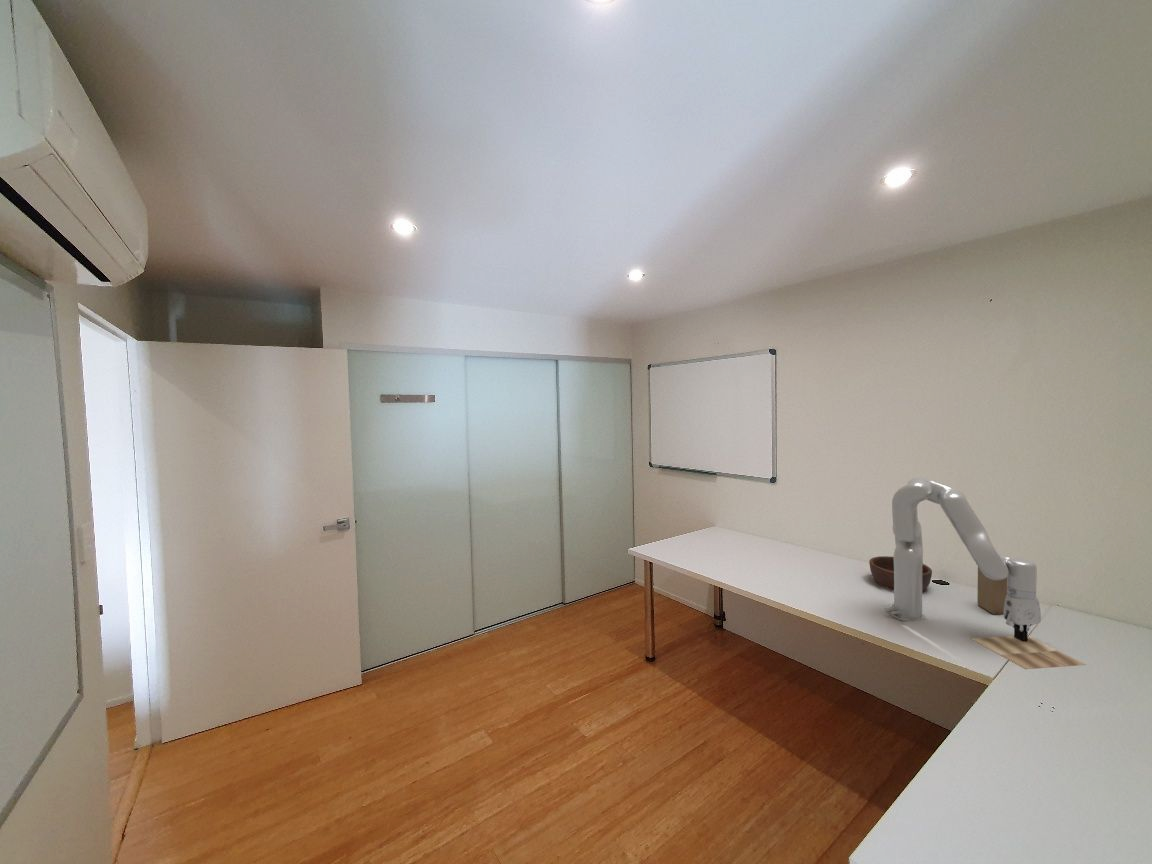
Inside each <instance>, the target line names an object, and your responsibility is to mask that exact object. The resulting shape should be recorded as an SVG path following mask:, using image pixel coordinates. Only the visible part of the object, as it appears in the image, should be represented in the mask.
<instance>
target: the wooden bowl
mask: <svg viewBox="0 0 1152 864" xmlns="http://www.w3.org/2000/svg"><path fill="white" fill-rule="evenodd" d="M868 563H869V568H870V573H871V577H873V579H874V581H875V582H876V583H877V584H878V585H880V586H881V587H884V588H887V589H889V590H893V591H894V556H886V555H885V556H875V557H872V558H870V559H869V561H868ZM932 574H933V569H932V568H931V567H929V566H928V565H927V564H925V563H923V566H922V592H924V591H926V589H927V588H929V586H930V583H931V579H932V576H933V575H932Z"/></svg>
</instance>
